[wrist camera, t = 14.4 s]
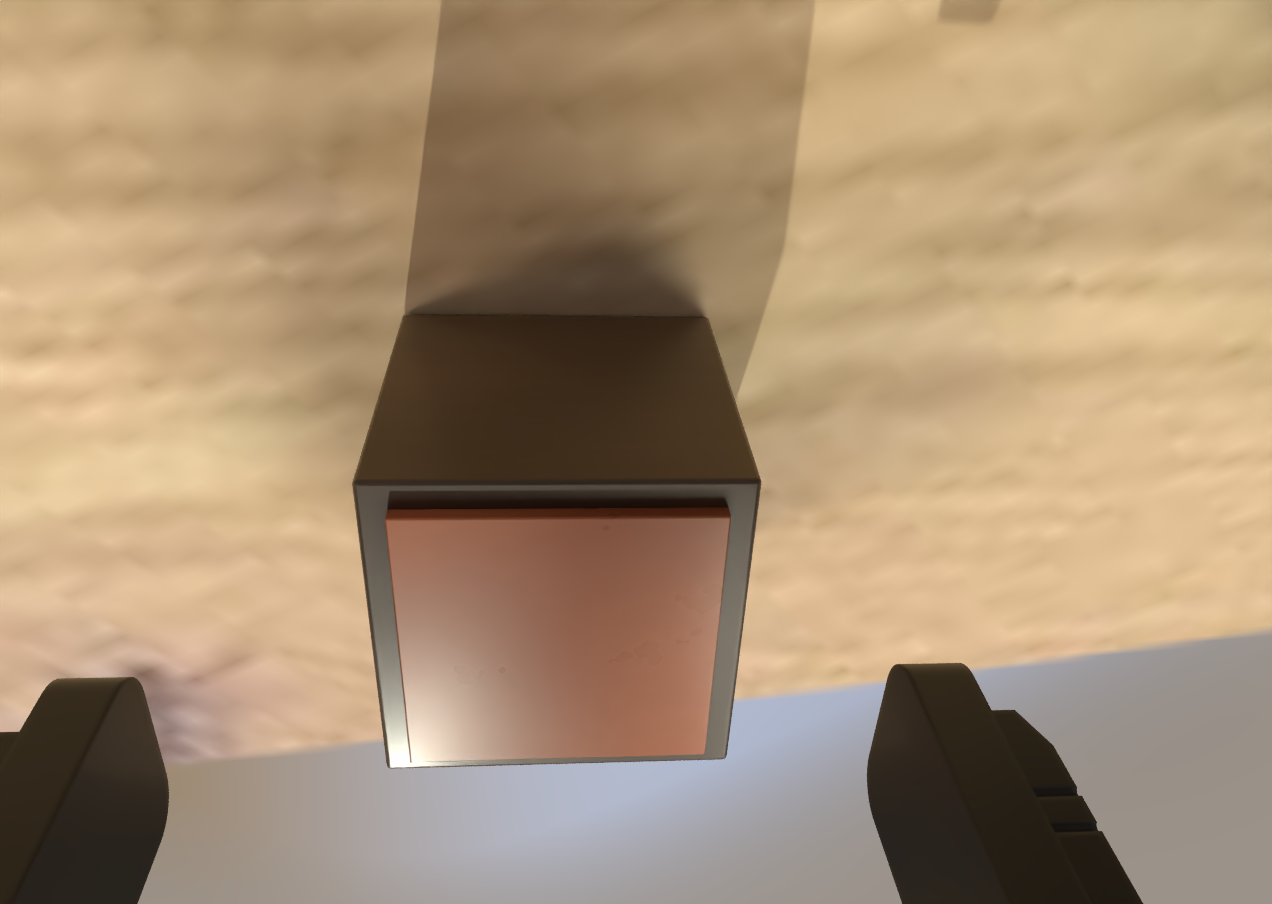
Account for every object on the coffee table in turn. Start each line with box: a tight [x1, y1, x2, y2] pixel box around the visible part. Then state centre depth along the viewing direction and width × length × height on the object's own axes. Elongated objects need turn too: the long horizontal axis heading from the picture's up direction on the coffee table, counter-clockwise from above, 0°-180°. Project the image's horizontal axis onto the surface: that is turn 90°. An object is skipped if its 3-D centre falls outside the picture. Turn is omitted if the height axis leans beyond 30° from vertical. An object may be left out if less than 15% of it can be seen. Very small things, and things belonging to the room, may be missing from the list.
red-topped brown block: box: [352, 315, 761, 768], centre depth 14 cm, size 4×4×5 cm
